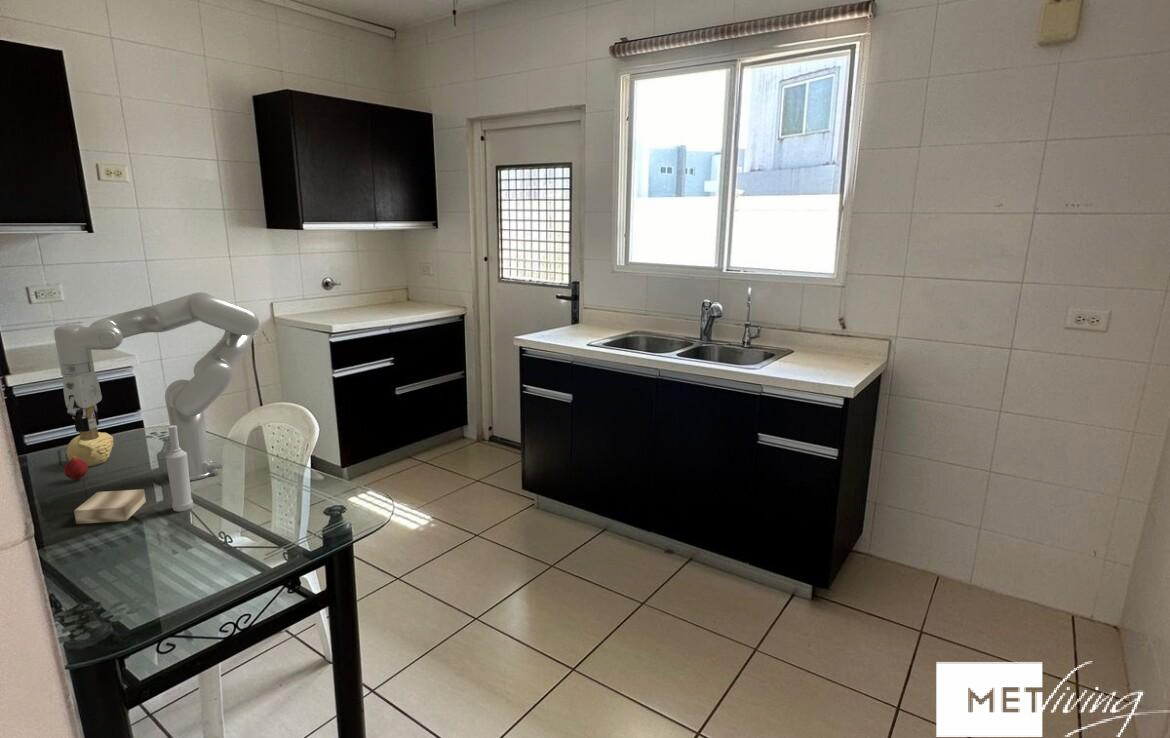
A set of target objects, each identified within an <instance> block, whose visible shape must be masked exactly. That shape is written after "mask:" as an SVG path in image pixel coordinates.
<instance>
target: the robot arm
mask: <svg viewBox="0 0 1170 738" xmlns="http://www.w3.org/2000/svg"><path fill="white" fill-rule="evenodd" d="M197 322H201V323H204V324H207V325H210V326H211V327H212V326H213V327H214V328H216V329H221V330H223V331H224V334H223V336H222V337H221V339H220V340H219V341H217V343H216V344H215V345H214V346H213V347H212V348H211V349H210V350H209V351H208V352H207V353H206V354H204V355H203V357H201V358H200V359H199V360H198V361H197V362H196V363H195V365H194V366H193V374H194V376H192V378H190V380H188V379H178V380H175V381H172V382H171V383H170V384H169V385H168V387H167V388H166V390H165V395H164V399H165V404H166V411H167V414H168V419H169V420H168V421H169V426H172V425H176V426H177V431H178V441H179V447H180V448H181V450H183V451H184V452H186V453H187V460H188V470H189V479H190V482H191V481H196V480H200V479H201V480H202V479H204V478H205V479H206V478H207V477H210V476H212V475H213V474H215V473H216V472H217V471H216V470H217V469H218V470H219V469H224V465H225V464H224V462H223V461H222V460H213V457H212V456H209V446H208V438H207V431H206V430H207V428H206V419H205V413H204V411H205V410H207V409H208V408H209V407H210V406H211V405H212V404H213V403H214V402H215V401H216V400H218V399H219V397H220V396H221V395H222V394H223V393H224V392H225V391H226V390H227V389H229V387H230V385H231V384H232V382H233V380H234V375H235V374H234V370H233V368H234V367H235V366H236V365H237V364H238V363H239V362H240V361H241V360H242V358H244V357H245V355H246V354H247V353H248V351H249V350H250V348H251V345H252V343H253V335H254V334H255V333H256V332H257V330H259V326H260V320H259V317H258V316H257V314H256V313H255V312H254V311H251V310H250V309H248V308H245V307H243V306H239V305H235V304H232V303H229V302H227V301H224V300H222V299H220V298H217V297H215V296H213V295H211V294H208V293H206V292H202V291H201V292H194V293H191V294H186V295H183V296H180V297H176V298H173V299H170V300H168V301H164V302H160V303H157V304H154V305H150V306H145V307H142V308H141V307H140V308H137V309H133V310H128V311H125V312H120V313H117V314H113V315H111V316H108V317H104V318H101V319H98V320H95V321H93V322H92V323H91V324H90V325H89V326H85V325H81V324H66V325H61V326H57V327H56V328H55V329H54V330H53V336H54V337H53V338H54V342H55V346H56V347H55V348H56V354H57V359H58V364H59V369H60V375H61V376H62V386H63V387H62V388H63V397H64V402H65V407H66V408H67V411H66V412H67V414H69V415H70V416H71V417H72V419H73V421H74V422H73V423H74V428H75V432H76V433H79V432H86V431H89V430H90V429H89V423H88V418H86V412H85V409H87V408H89V407H91V406H93V408H94V413H95V418H96V423H97V426H99V425H100V422H99V415H98V403H100V402H102V400H103V395H102V392H101V386H100V383H99V379H98V378H99V377H98V375H97V373H96V371H95V365H94V360H93V355H92V353H93V352H92V351H93V350H97V351H100V350H101V351H104V350H105V351H108V350H109V351H110V350H113V349H117V348H118V347H119V346H120V345H121V344H122V343H123V340H124V339H126V338H129V337H133V336H136V335H141V334H147V333H165V332H169V331H173V330H176V329H178V328H181V327H184V326H187V325H191V324H194V323H197ZM76 406H79V407H80V408H76ZM77 410H81V413H80V412H79V411H77Z"/></svg>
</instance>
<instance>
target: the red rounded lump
mask: <svg viewBox="0 0 1170 738" xmlns="http://www.w3.org/2000/svg"><path fill="white" fill-rule="evenodd" d="M88 470H89V466H87V464H86V463H85V462H84V461H83V460H80V459H77V456H74V457H73V458H72V459H71V460H68V461H67V462H66V464H65V466H64V468H63V472H64V475H65V476H66V477H67V478H69V479H71V480H74V481H80V480H82V478H83V477H84V476H85V475H86V474H87V473H88Z"/></svg>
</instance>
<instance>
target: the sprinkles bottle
mask: <svg viewBox="0 0 1170 738" xmlns="http://www.w3.org/2000/svg"><path fill="white" fill-rule="evenodd" d="M76 408H80V407H79V406H76ZM77 411H79V412H80V413H81V410H77ZM85 412H86V418H88V423H89V429H90V430H89V431H86V432H78V433H79V435H80V440H83V441H88V440H93V439H96V438H98V437H99V435H98V432H99V431H98V425H97V423H96V418H95V413H94V408H93V406H91V407H89V408H87V409H85Z"/></svg>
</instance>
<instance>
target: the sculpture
mask: <svg viewBox="0 0 1170 738" xmlns="http://www.w3.org/2000/svg"><path fill="white" fill-rule="evenodd" d="M98 435H99V437H98V438H96V439H93V440H88V441H83V440H80V434H79V435H77V436H75V437H74V438H72V439H71V440H70V442H69V443H68V444H67V447H66V456H67V459H68V461H70V460H71V459H72V458H73V457H74V456H77V459H80V460H83V461H84V462H85V463H86V464H87V466H88V467H92V466H97V465H100V464H102V463H105V462H106V461H107V460H108V459H109V458H110V455H111V452H112V450H113V449H112V448H114V436H112V435H111V434H109V433H107V432H100V431H98Z"/></svg>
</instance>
